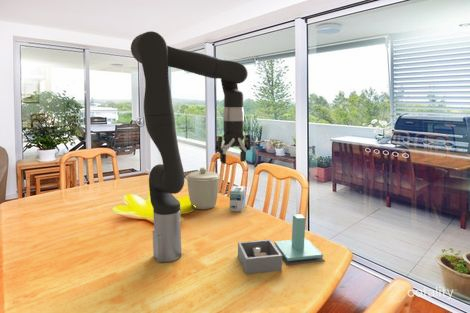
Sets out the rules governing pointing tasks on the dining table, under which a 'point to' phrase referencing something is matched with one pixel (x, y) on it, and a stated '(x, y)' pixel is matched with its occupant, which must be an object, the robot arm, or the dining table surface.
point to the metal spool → (256, 250)
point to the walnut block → (260, 254)
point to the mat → (301, 260)
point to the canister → (203, 188)
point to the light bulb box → (237, 198)
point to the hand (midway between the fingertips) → (233, 162)
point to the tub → (259, 263)
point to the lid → (298, 243)
